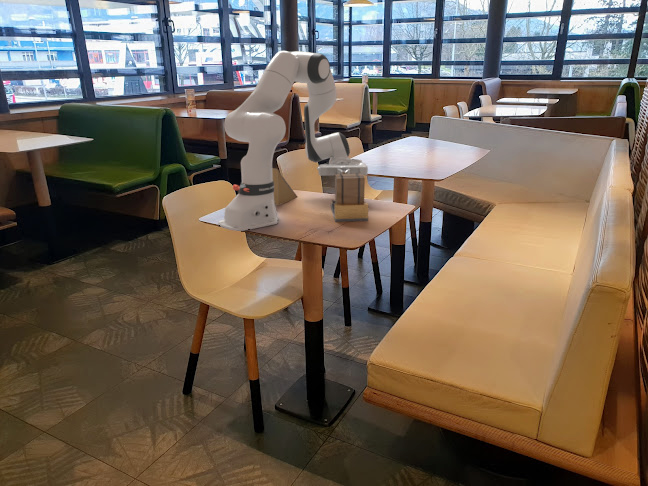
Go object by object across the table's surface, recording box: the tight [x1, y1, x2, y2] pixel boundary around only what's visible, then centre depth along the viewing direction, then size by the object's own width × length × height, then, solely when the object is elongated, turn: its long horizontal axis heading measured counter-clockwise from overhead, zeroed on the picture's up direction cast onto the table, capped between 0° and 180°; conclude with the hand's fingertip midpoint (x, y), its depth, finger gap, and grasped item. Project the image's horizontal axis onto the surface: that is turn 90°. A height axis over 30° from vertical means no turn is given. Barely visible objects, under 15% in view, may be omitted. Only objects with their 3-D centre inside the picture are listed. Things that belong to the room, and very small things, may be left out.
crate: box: [334, 174, 366, 204], centre depth 182 cm, size 8×10×12 cm
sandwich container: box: [272, 167, 298, 206], centre depth 207 cm, size 9×15×15 cm, turn 151°
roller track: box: [330, 199, 369, 223], centre depth 188 cm, size 22×12×6 cm, turn 4°
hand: (344, 173), depth 195 cm, fingers closed
